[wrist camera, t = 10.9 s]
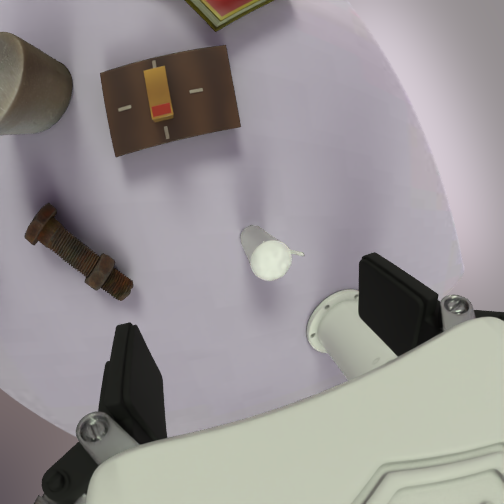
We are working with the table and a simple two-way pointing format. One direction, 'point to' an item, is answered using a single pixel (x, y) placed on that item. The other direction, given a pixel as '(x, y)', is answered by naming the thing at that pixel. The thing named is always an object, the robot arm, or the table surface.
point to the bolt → (78, 254)
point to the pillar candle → (30, 87)
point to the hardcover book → (224, 10)
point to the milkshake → (266, 253)
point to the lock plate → (182, 99)
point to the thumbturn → (158, 94)
